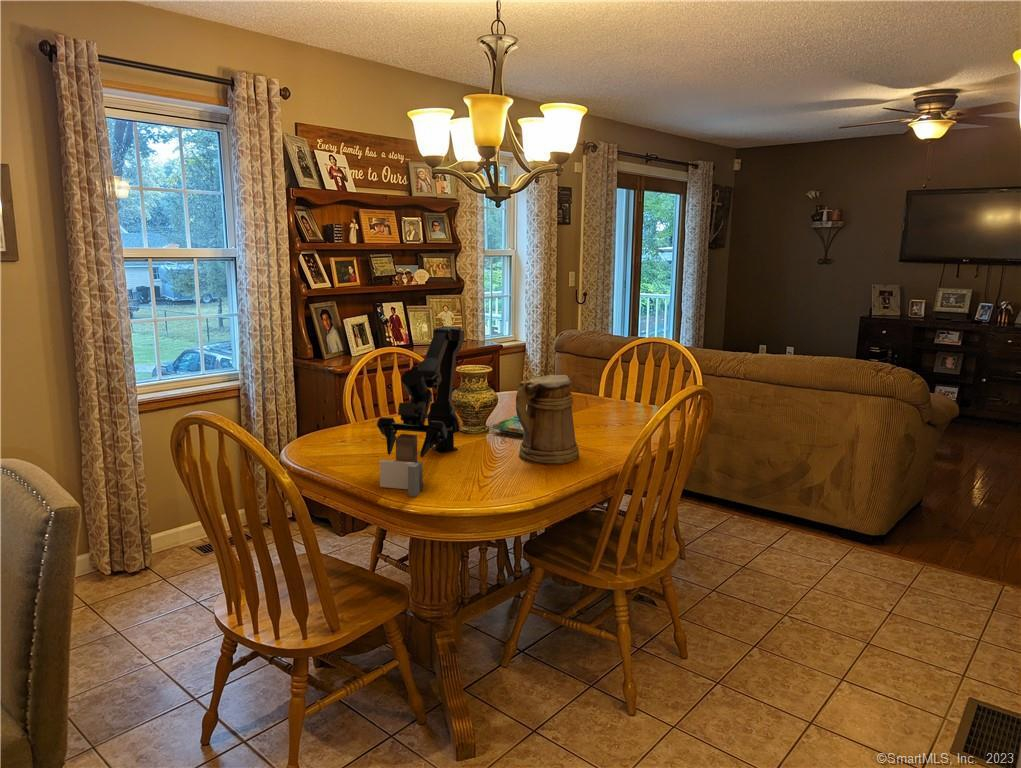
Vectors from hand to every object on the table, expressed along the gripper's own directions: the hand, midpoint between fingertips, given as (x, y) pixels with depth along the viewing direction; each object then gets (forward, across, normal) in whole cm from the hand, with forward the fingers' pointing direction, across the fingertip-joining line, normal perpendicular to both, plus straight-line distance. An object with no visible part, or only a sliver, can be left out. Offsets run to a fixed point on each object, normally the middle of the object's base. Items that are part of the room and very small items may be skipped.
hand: (404, 455), depth 188 cm
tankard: (-18, +32, +30) cm, 47 cm away
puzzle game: (-39, +19, +51) cm, 67 cm away
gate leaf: (+8, 0, +3) cm, 9 cm away
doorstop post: (+5, 0, +7) cm, 8 cm away
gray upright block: (+11, +5, +1) cm, 12 cm away
